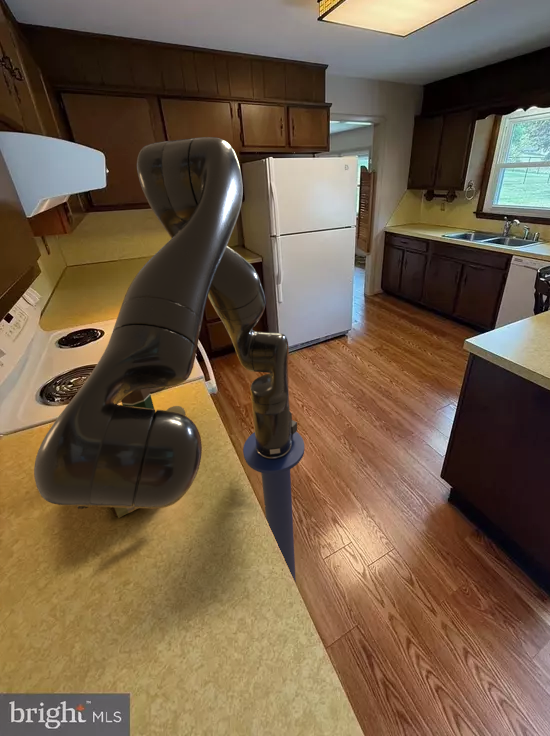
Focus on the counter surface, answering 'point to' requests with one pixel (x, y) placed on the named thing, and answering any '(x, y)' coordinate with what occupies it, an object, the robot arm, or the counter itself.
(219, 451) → the counter surface
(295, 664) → the counter surface
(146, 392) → the beer bottle
